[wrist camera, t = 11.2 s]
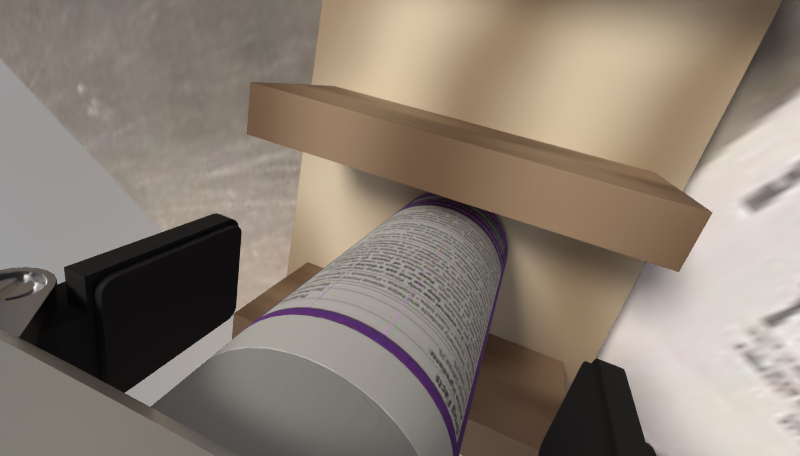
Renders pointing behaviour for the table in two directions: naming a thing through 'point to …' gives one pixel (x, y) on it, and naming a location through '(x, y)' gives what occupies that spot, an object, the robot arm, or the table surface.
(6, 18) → the table surface
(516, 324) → the slot rack
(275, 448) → the container
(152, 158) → the table surface
